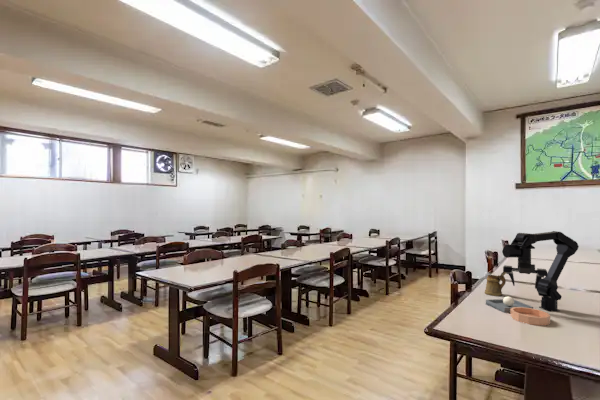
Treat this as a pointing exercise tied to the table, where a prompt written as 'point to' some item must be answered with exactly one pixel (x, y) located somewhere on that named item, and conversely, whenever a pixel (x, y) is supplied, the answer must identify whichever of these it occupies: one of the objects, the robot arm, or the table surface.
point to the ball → (508, 301)
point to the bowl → (530, 316)
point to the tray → (502, 307)
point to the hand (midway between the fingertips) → (524, 287)
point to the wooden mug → (495, 284)
